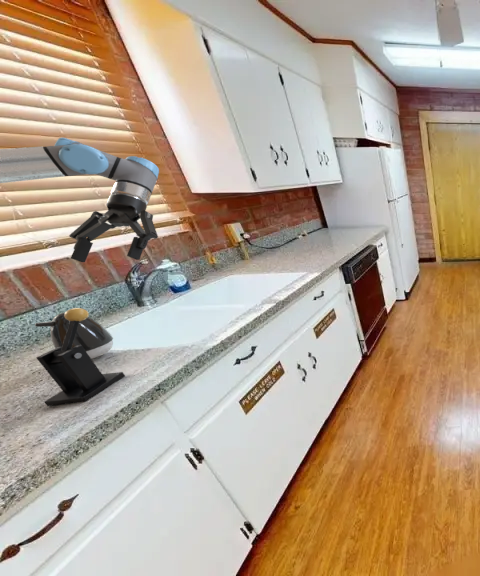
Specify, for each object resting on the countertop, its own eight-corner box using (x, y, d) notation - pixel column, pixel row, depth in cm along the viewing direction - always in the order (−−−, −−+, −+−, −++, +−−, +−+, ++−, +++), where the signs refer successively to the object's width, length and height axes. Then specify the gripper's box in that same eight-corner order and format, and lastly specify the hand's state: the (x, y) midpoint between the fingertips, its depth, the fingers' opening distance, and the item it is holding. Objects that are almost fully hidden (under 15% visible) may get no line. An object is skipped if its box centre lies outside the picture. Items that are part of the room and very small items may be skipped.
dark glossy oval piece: (59, 362, 90) (24, 318, 84) (110, 343, 98) (83, 303, 93) (74, 368, 86) (39, 323, 80) (126, 348, 95) (98, 307, 89)
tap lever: (78, 310, 79) (61, 307, 76) (95, 309, 80) (78, 306, 77) (62, 363, 75) (43, 363, 72) (79, 362, 76) (61, 361, 73)
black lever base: (91, 379, 83) (63, 341, 77) (125, 375, 84) (100, 338, 79) (47, 406, 74) (12, 365, 68) (86, 402, 75) (55, 361, 70)
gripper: (184, 206, 100) (167, 262, 93) (95, 208, 96) (70, 266, 89) (163, 192, 93) (142, 251, 86) (66, 193, 89) (36, 255, 82)
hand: (105, 259), depth 87 cm, fingers open, 13 cm apart
